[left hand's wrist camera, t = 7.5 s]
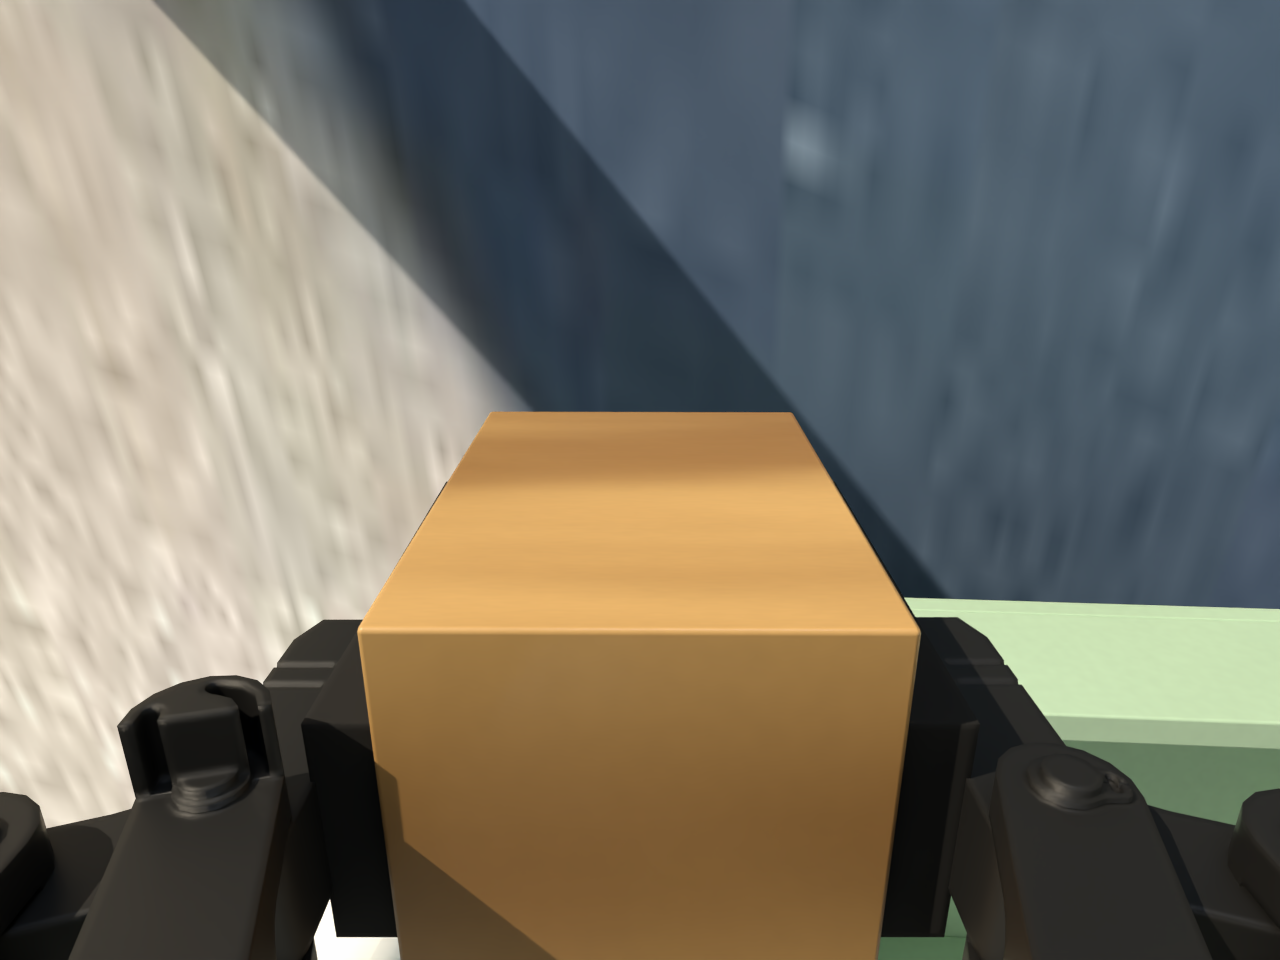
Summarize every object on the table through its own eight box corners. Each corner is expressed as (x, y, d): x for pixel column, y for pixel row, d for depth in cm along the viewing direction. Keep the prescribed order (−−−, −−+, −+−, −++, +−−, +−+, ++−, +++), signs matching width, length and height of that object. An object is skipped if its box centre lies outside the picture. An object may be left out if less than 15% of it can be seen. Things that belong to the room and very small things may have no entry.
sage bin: (797, 593, 26) (857, 860, 16) (1593, 617, 25) (2198, 927, 15) (773, 923, 31) (808, 1289, 21) (1440, 960, 30) (1819, 1371, 20)
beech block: (489, 410, 14) (354, 629, 7) (793, 411, 14) (924, 629, 7) (506, 671, 16) (408, 1033, 9) (776, 672, 16) (870, 1035, 9)
